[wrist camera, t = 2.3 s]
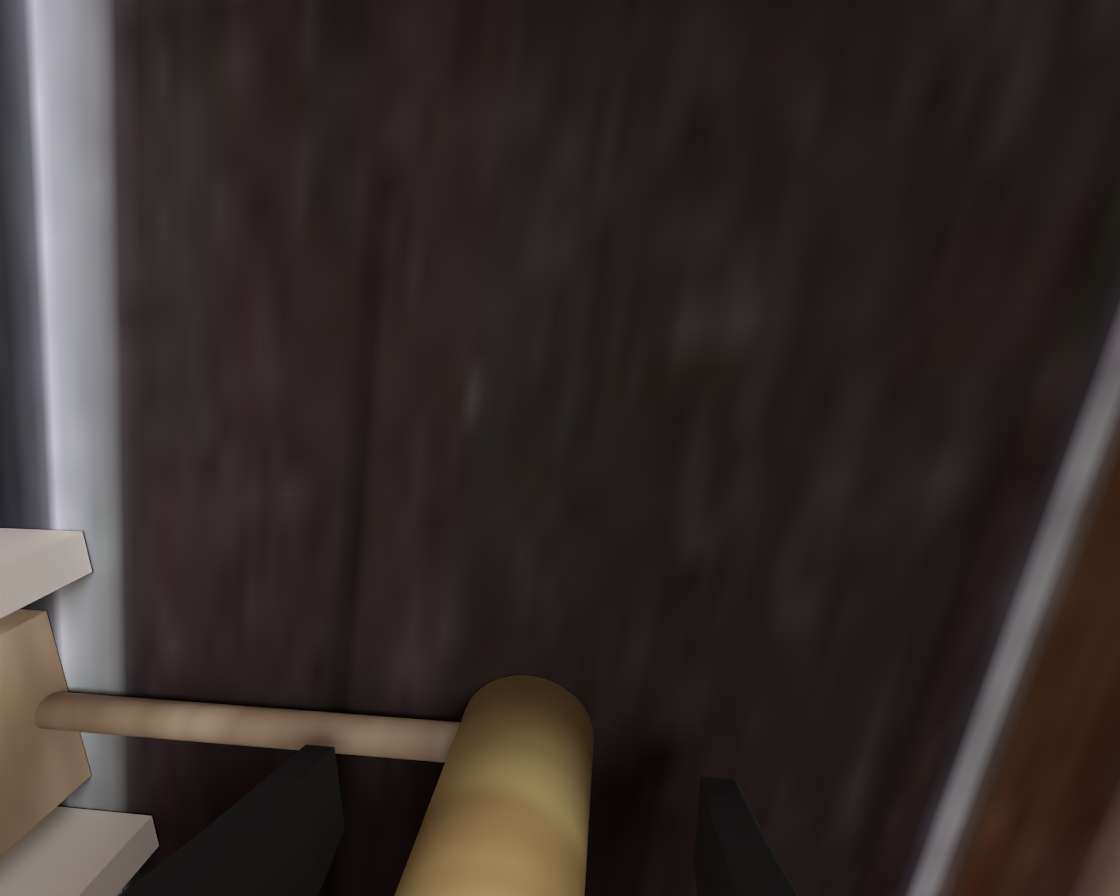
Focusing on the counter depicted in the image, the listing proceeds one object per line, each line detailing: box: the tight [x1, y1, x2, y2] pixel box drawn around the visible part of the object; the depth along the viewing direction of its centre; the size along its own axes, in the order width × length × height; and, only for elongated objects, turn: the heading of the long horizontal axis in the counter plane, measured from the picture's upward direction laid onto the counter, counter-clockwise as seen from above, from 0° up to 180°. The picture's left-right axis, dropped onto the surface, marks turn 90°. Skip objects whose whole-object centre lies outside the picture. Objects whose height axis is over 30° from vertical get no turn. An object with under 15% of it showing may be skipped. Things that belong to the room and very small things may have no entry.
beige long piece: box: [0, 609, 594, 896], centre depth 10 cm, size 5×18×6 cm, turn 90°
